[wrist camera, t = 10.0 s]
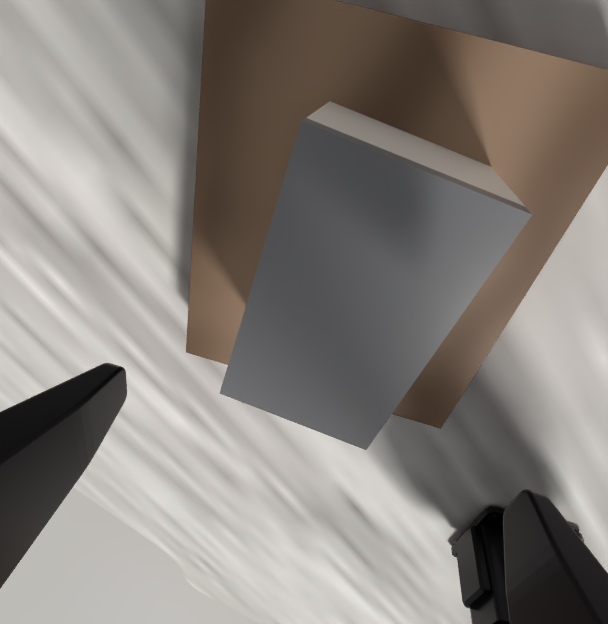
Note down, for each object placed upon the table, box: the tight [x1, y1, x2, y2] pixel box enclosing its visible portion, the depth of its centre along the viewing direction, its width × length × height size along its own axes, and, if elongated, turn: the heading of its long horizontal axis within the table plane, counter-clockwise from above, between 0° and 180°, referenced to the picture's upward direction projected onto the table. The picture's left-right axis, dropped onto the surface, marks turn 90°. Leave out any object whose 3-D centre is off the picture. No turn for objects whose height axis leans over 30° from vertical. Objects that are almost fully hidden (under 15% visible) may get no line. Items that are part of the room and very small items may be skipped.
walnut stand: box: [186, 0, 608, 428], centre depth 18 cm, size 14×16×2 cm
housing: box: [220, 101, 532, 450], centre depth 14 cm, size 10×6×5 cm, turn 161°
